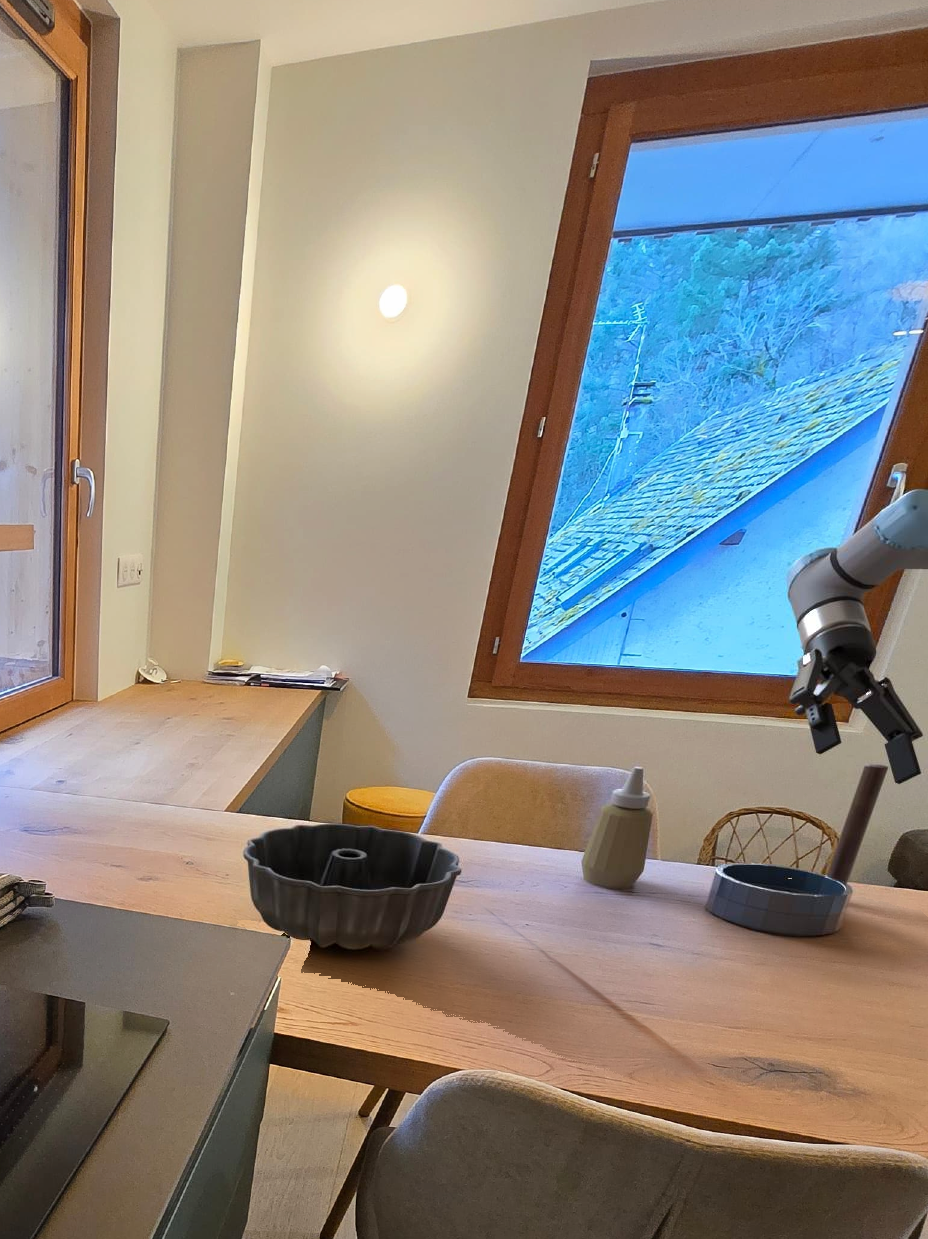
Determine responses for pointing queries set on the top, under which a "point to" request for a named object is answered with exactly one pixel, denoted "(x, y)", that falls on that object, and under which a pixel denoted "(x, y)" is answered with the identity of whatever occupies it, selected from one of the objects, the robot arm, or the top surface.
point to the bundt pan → (349, 883)
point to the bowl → (778, 899)
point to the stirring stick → (857, 821)
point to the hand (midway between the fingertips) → (868, 763)
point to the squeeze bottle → (620, 837)
